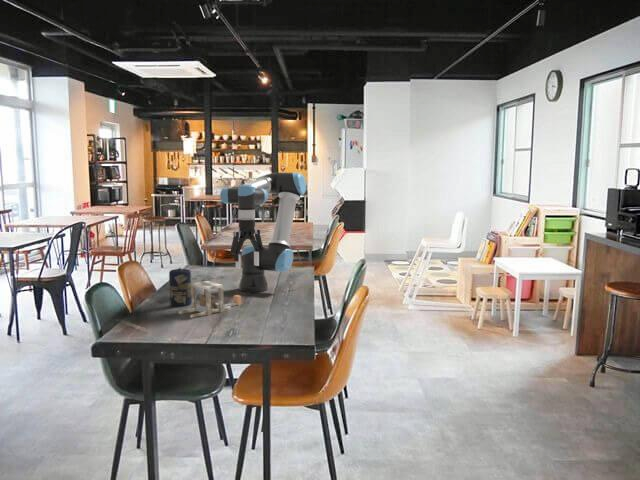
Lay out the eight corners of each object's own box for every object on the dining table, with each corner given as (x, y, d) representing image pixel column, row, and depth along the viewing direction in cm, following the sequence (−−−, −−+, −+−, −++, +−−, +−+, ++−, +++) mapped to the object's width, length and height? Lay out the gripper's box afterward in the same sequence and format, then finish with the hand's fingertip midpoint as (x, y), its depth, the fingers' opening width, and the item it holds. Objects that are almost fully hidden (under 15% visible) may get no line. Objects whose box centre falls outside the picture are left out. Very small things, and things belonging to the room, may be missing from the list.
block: (208, 306, 252) (208, 294, 251) (215, 308, 248) (215, 295, 248) (200, 308, 248) (199, 295, 248) (206, 310, 245) (206, 297, 244)
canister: (170, 309, 255) (168, 270, 252) (169, 304, 264) (168, 266, 262) (192, 308, 257) (190, 269, 255) (190, 303, 266) (189, 265, 264)
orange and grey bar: (234, 302, 263) (234, 294, 263) (244, 305, 258) (243, 296, 258) (196, 310, 248) (196, 301, 248) (205, 313, 244) (205, 304, 243)
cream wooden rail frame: (226, 305, 263) (225, 277, 262) (242, 309, 255) (242, 281, 253) (177, 315, 245) (176, 285, 243) (193, 320, 236) (192, 290, 235)
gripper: (260, 216, 270) (261, 263, 273) (221, 219, 254) (222, 269, 257) (270, 217, 265) (271, 264, 268) (231, 221, 249) (232, 271, 252)
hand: (247, 266), depth 262 cm, fingers open, 10 cm apart
